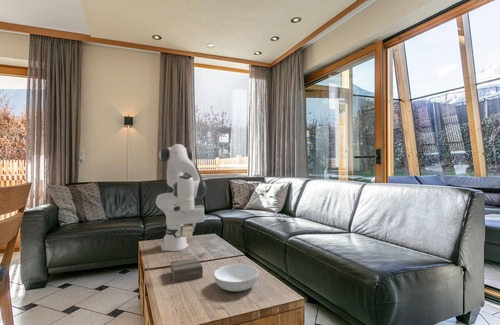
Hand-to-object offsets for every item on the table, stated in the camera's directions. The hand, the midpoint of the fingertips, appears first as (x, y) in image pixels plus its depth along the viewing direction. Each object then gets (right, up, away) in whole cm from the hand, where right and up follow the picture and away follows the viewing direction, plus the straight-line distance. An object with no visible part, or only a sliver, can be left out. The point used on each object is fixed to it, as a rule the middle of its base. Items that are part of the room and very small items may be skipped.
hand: (186, 232), depth 140 cm
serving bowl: (+27, -22, -15) cm, 38 cm away
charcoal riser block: (0, -23, 0) cm, 23 cm away
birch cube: (0, -2, 0) cm, 2 cm away
